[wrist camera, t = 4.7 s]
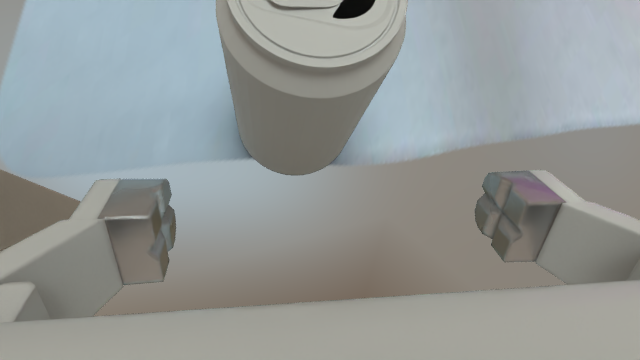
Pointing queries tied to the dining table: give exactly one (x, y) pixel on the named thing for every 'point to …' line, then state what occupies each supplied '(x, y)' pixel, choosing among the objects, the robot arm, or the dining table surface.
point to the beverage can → (305, 73)
